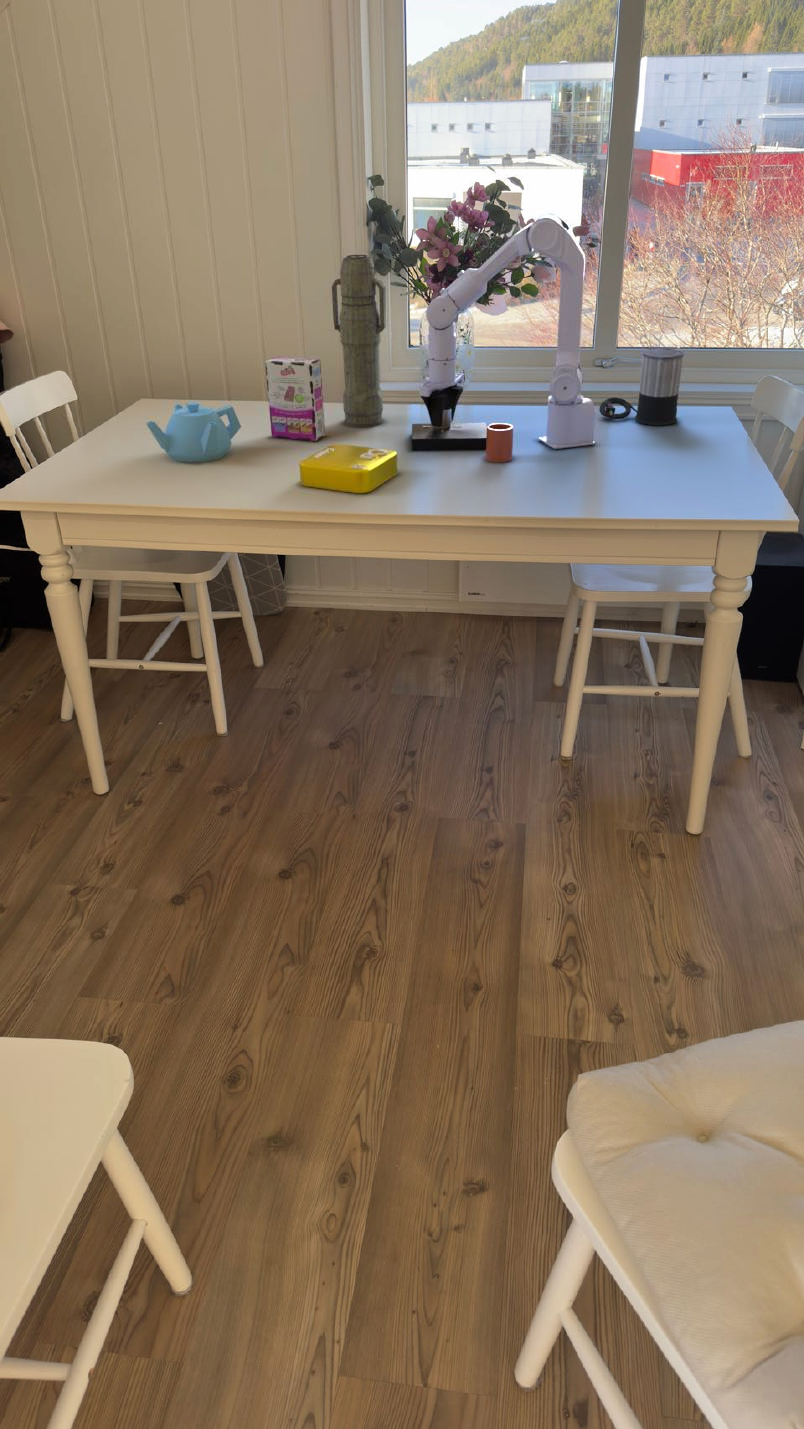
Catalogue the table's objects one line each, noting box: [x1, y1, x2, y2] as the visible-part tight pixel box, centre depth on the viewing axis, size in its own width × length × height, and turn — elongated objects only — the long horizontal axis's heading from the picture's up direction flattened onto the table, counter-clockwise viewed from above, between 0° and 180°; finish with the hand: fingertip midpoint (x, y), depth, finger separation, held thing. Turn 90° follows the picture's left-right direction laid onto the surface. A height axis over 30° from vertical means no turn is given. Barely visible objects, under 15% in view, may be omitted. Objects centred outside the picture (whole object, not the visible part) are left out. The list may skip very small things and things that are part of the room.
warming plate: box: [411, 422, 487, 452], centre depth 219 cm, size 16×13×3 cm
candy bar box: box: [264, 356, 326, 442], centre depth 221 cm, size 11×5×16 cm, turn 68°
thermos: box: [331, 254, 387, 428], centre depth 226 cm, size 9×12×35 cm
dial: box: [433, 406, 452, 429], centre depth 219 cm, size 4×4×4 cm
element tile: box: [298, 443, 398, 494], centre depth 198 cm, size 15×15×5 cm
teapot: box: [145, 401, 242, 464], centre depth 212 cm, size 15×15×11 cm
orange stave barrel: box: [485, 422, 514, 464], centre depth 207 cm, size 5×5×6 cm
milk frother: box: [598, 347, 685, 426], centre depth 228 cm, size 14×16×15 cm
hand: (442, 423), depth 220 cm, fingers closed on dial, 4 cm apart
